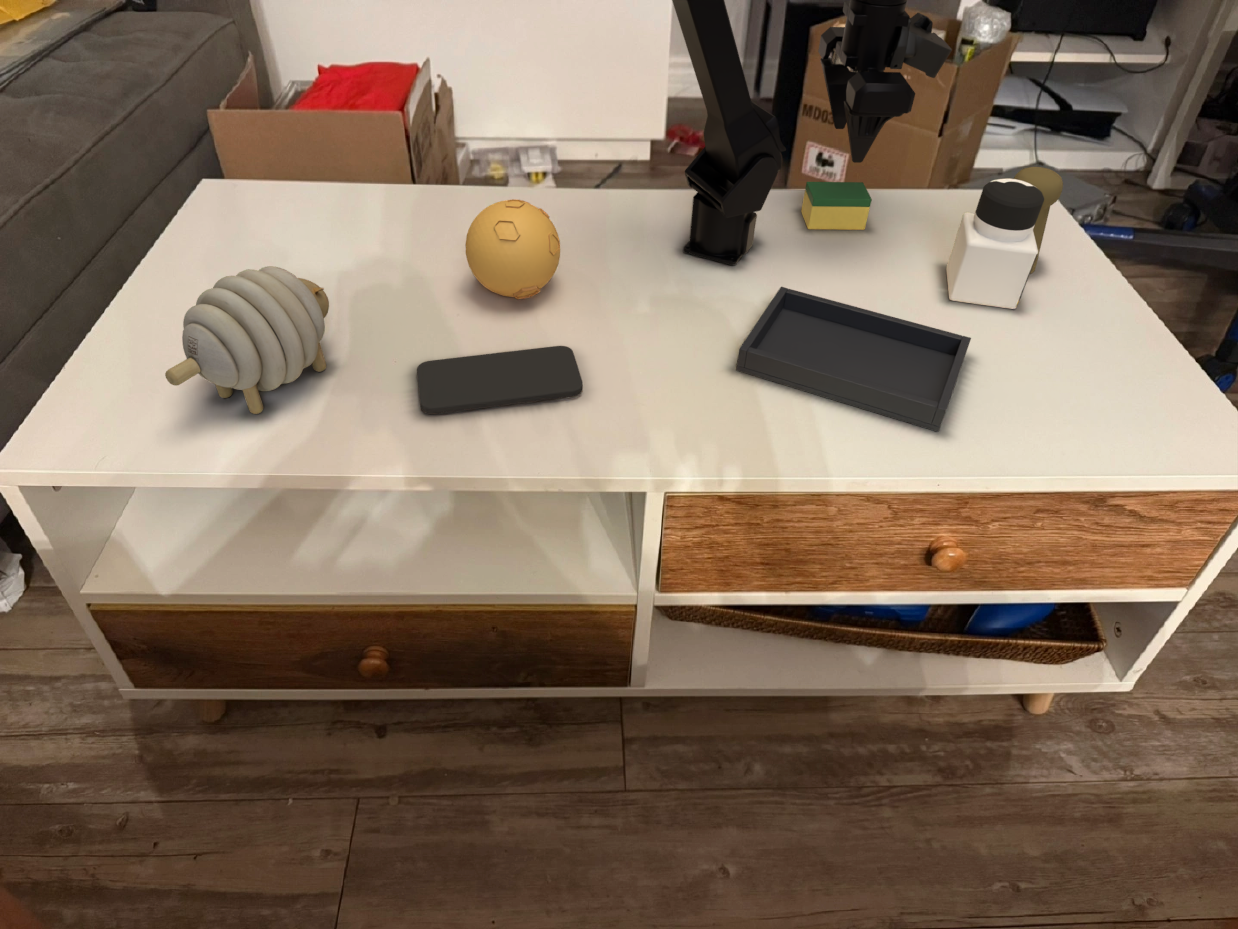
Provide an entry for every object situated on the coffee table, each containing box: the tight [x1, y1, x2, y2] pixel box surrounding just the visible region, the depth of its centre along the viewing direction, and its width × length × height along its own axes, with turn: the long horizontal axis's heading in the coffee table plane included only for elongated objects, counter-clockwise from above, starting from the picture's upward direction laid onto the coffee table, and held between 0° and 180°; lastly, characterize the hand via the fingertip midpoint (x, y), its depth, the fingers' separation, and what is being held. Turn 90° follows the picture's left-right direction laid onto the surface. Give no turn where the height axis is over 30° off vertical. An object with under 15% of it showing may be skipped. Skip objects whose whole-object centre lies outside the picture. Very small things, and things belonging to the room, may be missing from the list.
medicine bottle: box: [945, 178, 1044, 310], centre depth 94 cm, size 7×7×12 cm
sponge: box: [800, 181, 873, 231], centre depth 108 cm, size 7×4×4 cm, turn 92°
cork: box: [1012, 166, 1064, 275], centre depth 99 cm, size 6×6×11 cm
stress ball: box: [464, 198, 561, 300], centre depth 92 cm, size 10×10×10 cm
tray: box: [735, 286, 972, 433], centre depth 87 cm, size 20×13×3 cm, turn 64°
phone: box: [416, 345, 584, 415], centre depth 84 cm, size 7×1×15 cm
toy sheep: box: [164, 265, 330, 415], centre depth 79 cm, size 11×17×11 cm, turn 152°
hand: (847, 144), depth 103 cm, fingers open, 9 cm apart
